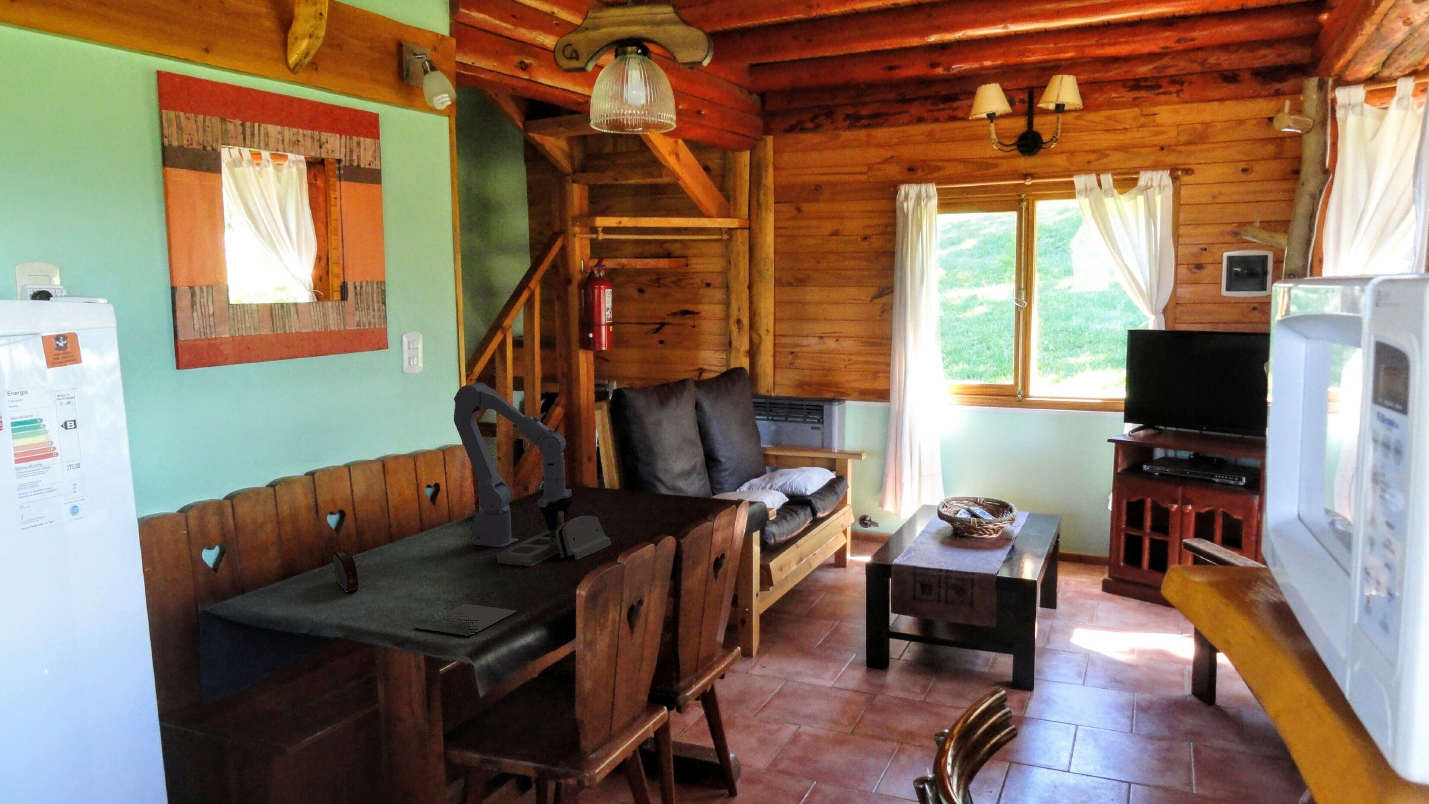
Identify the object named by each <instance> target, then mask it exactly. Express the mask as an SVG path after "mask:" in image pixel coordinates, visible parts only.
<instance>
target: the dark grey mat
mask: <svg viewBox="0 0 1429 804" xmlns="http://www.w3.org/2000/svg"><path fill="white" fill-rule="evenodd" d="M450 610H451V611H450ZM450 610H448V611H446V612H445V613H449V614H447V615H455V616H456V615H457V616H465V617H459V618H460V619H465V620H466V619H467V620H468V619H469V620H478V621H467V622H474V623H473V625H472V623H471V625H470V623H469V625H470V626H478V627H470V628H473V629H474V628H475V629H476V628H477V629H479V630H476V631H475V630H474V631H475V632H477V633H478V632H480V631H482V630H485V629H486V628H487V627H488V628H489V626H491V625H494V624H495V623H498V622H499V621H501V620H502V619H505V618H507V617H509V616H511V615H513V614H515V613H517V610H516V609H508V608H507V609H506V608H502V607H501V608H500V607H493V606H492V607H491V606H487V605H486V606H485V605H478V604H470V603H463V604H461V605H458V606H457V607H455V608H452V609H450ZM452 610H453V611H452ZM452 612H454V613H455V612H456V613H462V614H453V613H452ZM450 613H451V614H450ZM463 613H464V614H463ZM466 616H467V617H466ZM445 618H446V617H445ZM448 618H449V617H448ZM450 618H457V617H450ZM459 618H458V619H459ZM462 622H466V621H462ZM475 622H476V623H475ZM469 625H468V626H469ZM472 631H473V630H472ZM469 634H473V635H474V634H476V633H469Z"/></svg>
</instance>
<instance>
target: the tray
mask: <svg viewBox="0 0 1429 804" xmlns="http://www.w3.org/2000/svg"><path fill="white" fill-rule="evenodd" d="M558 554H560V552H559V548H558V543H557V539H556V538H553V537H550V535H549V530H548V529H547V530H546V531H543V532H541V533H539V534H536V535H534V536H532V537H530V538H528V539H526V540H524V541H521V542H519V543H516V544H515V545H512V546H511V547H508V548H506V549H504V550H501V551H500V552H497V553H496V561H497V562H496V563H497V564H501V565H512V566H522V565H524V567H533V566H535V565H537V564H540V563H542V562H544V561H545V560H547V559H549V558H552V557H553V556H555V555H558Z"/></svg>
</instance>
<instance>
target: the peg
mask: <svg viewBox="0 0 1429 804" xmlns="http://www.w3.org/2000/svg"><path fill="white" fill-rule="evenodd" d="M563 524H564V511H563V510H559V511H558V515H557V527H556V530H549V535H550V537H553V538H556V535H555V533H556V531H557V530H558V528H559V527H560V526H562V525H563Z"/></svg>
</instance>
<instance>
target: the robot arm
mask: <svg viewBox="0 0 1429 804" xmlns="http://www.w3.org/2000/svg"><path fill="white" fill-rule="evenodd" d="M453 401H454V411H453V422H454V425H455V427H456V430H457V432H458V435H459V437H460V439H461V442H462V445H463V447H464V449H465V452H466V454H467V457H468V458H469V462H470V464H471V467H472V469H473V471H474V473H475V476H476V478H477V481H478V483H477V492H478V495H479V499H478V502H479V506H480V508H481V510H479V511H477V512H476V514H475V515H474V518H473V528H474V529H473V530H474V531H473V532H474V533H473V534H474V542H472V544H473V546H484V547H493V548H494V547H496V548H505V547H507V546H509V545H511V544H513V543H515V542H517V541H519V538H515V537H513V536H512V519H511V507H510V504H511V502H512V500H513V491H512V489H511V487H510V486H508V485H507V484H506V482H505V480H504V479H503V477H502V476H501V475H500V474H499V473H498V472H497V470H496V467H495V465H494V462H493V460H492V458H491V455H490V453H489V451H488V448H487V445H486V442H485V440H484V438H483V436H482V434H481V431H480V429H479V426H478V423H477V422H476V419H477V418H478V416H479V413H480V411H481V410H483V409H484V410H485V409H487V410H494V411H495V412H496V413H498V414H499V415H501V416H502V417H504V418H505V419H507V420H508V421H509V422H511V423H512V424H514V425H515V426H517V432H518V433H519V434H520V435H522V437H524V438H525V439H527V440H528V441H529V442H530V443H532V444H533V445H535V447H538V450H539V451H540V454H541V455H542V470H543V471H542V475H543V495H542V496H541V497H540V498H539V499H537V507H538V509H539V510H540V512H541V513H542V514H541V515H543V518H544V521H545V523H546V526H547V530H556V527H557V515H558V511H559V510H563V511H564V523H566V522H567V516H568V511H569V509H570V506H571V505H572V503H573V502H572V499H571V498H570V497H572V496H573V494H572V493H573V492H572V491H573V490H572V489H571V488H566V473H565V472H566V471H565V470H566V468H565V466H566V465H565V464H566V463H565V452H564V450H565V449H566V446H567V441H566V438H565V436H564V435H562V433H561V432H558V431H555V430H554V429H553V428H549V427H548V426H546V425H545V424H543V423H542V421H540V419H541V418H540V417H538V416H533V415H524V414H523V412H522V411H520V410H518V408H516V407H515V406H513V404H512V403H510V402H509V401H508V400H506V399H505V398H504V397H503V396H502V395H501V394H499V393H498V392H497V391H496V390H495V389H494V388H492V387H489V386H488V385H487V384H486V383H485V382H481V381H478V382H475V383H472V384H466V385H463V386H460V387H459V389H458V390H457V392H456V394H455V395H454V398H453Z"/></svg>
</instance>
